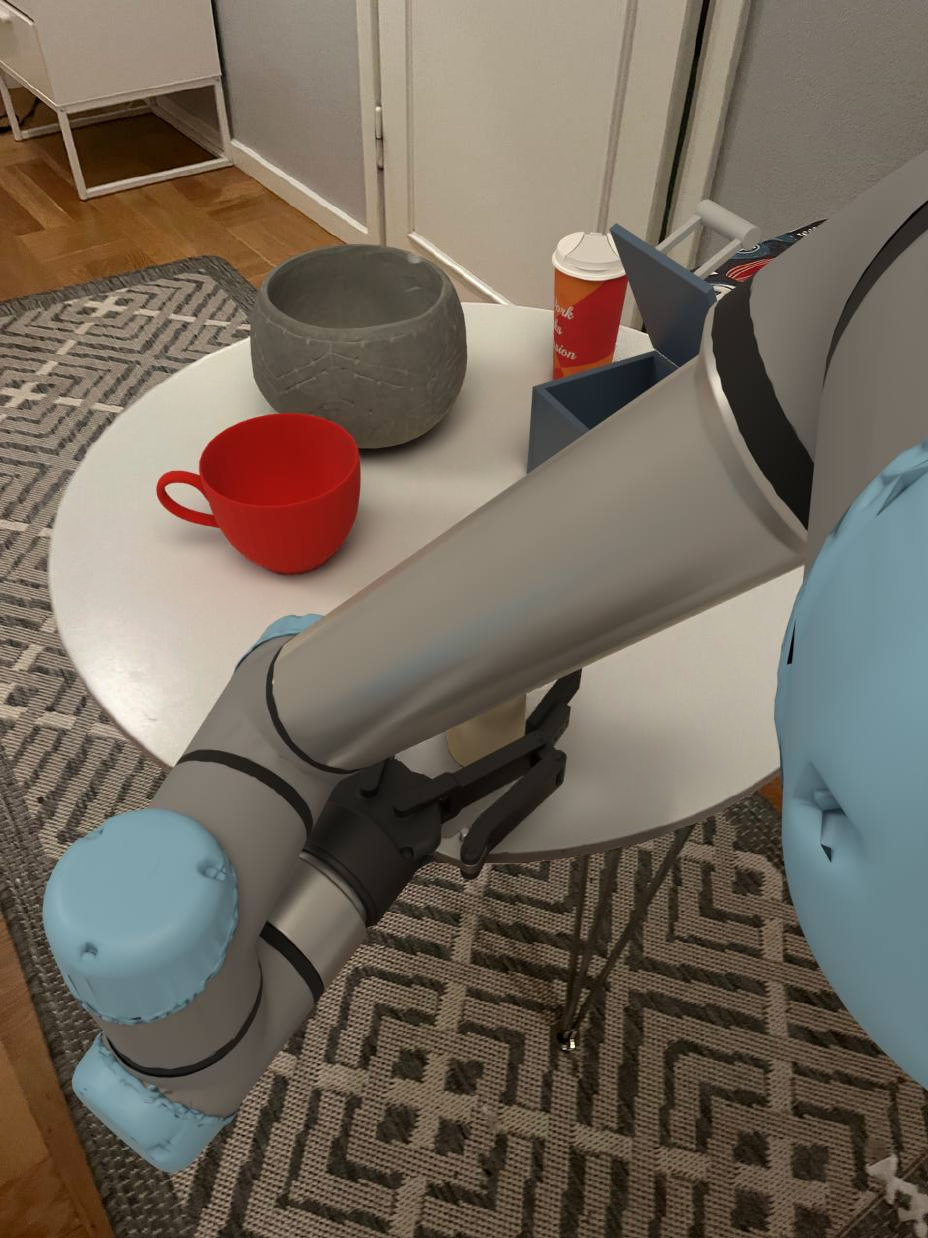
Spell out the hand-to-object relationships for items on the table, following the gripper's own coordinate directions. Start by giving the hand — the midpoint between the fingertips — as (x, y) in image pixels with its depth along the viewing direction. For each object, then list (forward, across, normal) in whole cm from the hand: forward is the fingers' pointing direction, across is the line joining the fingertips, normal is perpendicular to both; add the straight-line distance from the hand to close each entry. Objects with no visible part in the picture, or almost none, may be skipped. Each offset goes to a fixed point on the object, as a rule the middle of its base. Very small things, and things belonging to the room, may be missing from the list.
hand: (521, 648), depth 68 cm
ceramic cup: (+3, -27, -6) cm, 28 cm away
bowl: (+24, -32, -6) cm, 40 cm away
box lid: (+31, -4, +10) cm, 32 cm away
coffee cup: (+43, -17, -6) cm, 47 cm away
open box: (+28, -5, -6) cm, 29 cm away
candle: (-5, 0, -6) cm, 8 cm away
